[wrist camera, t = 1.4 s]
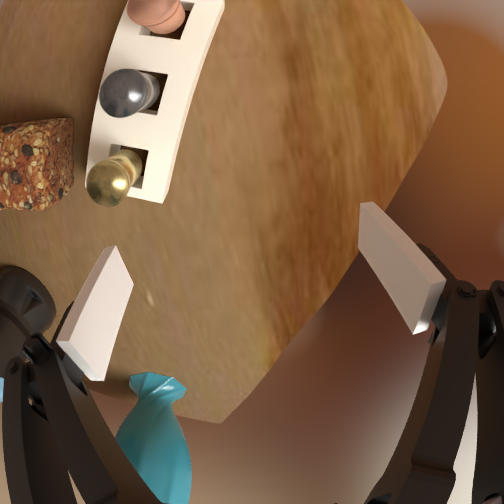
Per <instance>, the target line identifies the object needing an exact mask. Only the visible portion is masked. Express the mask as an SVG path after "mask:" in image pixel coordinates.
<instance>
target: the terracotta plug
mask: <svg viewBox="0 0 504 504" xmlns="http://www.w3.org/2000/svg"><path fill="white" fill-rule="evenodd" d="M127 14H128V17H129V18H130V19H131V20H132V21H133V22H135V23H136V24H138V25H141V26H145V27H146V28H148V29H149V30H150V31H152V32H153V33H156V34H168V33H171V32H173V31H175V30H176V29H178V28H179V27H180V26H181V25H182V23H183V22H184V19H185V11H184V9H183V7H182V5H181V3H180V0H129V1H128V3H127Z"/></svg>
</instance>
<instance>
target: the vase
mask: <svg viewBox="0 0 504 504" xmlns="http://www.w3.org/2000/svg"><path fill="white" fill-rule="evenodd" d="M129 387H130V388H131V389H132V390H133V391H134V392H135V393H136V394H137V396H138V401H137V403H136V405H135V407H134V408H133V409H132V410H131V411H130V413H129V414H128V415H127V417H126V418H125V419H124V421H123V422H122V424H121V426H120V427H119V429H118V431H117V434H116V436H115V439H116V441H117V442H118V444H119V446H120V447H121V449H122V450H123V452H124V453H125V455H126V456H127V458H128V459H129V461H130V462H131V464H132V465H133V467H134V468H135V470H136V471H137V472H138V474H139V475H140V476H141V478H142V479H143V480H144V482H145V483H146V484H147V486H148V487H149V488H150V489H151V491H152V492H153V493H154V494H155V496H156V497H157V498H158V499H159V500H160V501H161V502H162V503H163V504H188V502H189V497H190V492H191V483H192V468H191V459H190V454H189V450H188V446H187V442H186V439H185V436H184V434H183V431H182V429H181V426H180V424H179V422H178V420H177V418H176V416H175V414H174V412H173V408H172V403H173V402H174V401H176V400H178V399H181V398H182V397H183V395H184V393H185V391H186V390H187V389H186V388H185V387H184V386H183V385H181V384H180V383H179V382H178V381H176V380H175V379H174V378H172V377H167V376H163V375H159V374H154V373H151V372H146V373H142V374H137V375H131V376H130V381H129Z"/></svg>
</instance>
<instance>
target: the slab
mask: <svg viewBox="0 0 504 504" xmlns="http://www.w3.org/2000/svg"><path fill="white" fill-rule="evenodd" d="M128 1H129V0H128ZM127 3H128V2H127ZM180 3H181V5H182V7H183V9H184V10H186V11H191V13H190V15H189V18H188V20H187V23H186V26H185V28H184V31H183V33H182V36H181V39H180V40H176V39H170V38H162V37H154V36H150V33H151V31H150V30H149V29H148V28H146V27H145V26H141V25H138V24H136V23H135V22H133V21H132V20H131V19H130V18H129V17H128V14H127V4H126V6H125V9H124V11H123V14H122V17H121V19H120V22H119V25H118V27H117V30H116V33H115V36H114V39H113V42H112V45H111V48H110V51H109V55H108V58H107V62H106V65H105V69H104V73H103V77H102V81H101V85H102V83H103V82H104V80H105V79H106V78H107V77H108V76H109V75H110V74H111V73H113V72H115V71H117V70H119V69H134V70H137V71H138V70H141V71H148V72H155V73H162V74H168V78H167V81H166V84H165V88H164V91H163V95H162V98H161V102H160V106H159V109H158V111H155V110H149V109H143V110H140V111H138V112H137V113H135V114H133V115H131V116H128V117H124V118H115V117H112V116H110V115H108V114H107V113H106V112H105V111H104V110H103V109H102V107H101V105H100V101H99V93H98V98H97V103H96V108H95V113H94V118H93V124H92V130H91V137H90V144H89V152H88V161H87V171H86V179H87V175H88V173H89V171H90V170H91V168H92V167H93V166H95V165H96V164H97V163H99V162H101V161H103V160H106V159H108V158H109V157H110V156H112V155H113V154H115V153H116V152H118V151H120V148H121V145H123V146H128V147H134V148H139V149H144V150H149V152H148V157H147V162H146V168H145V173H144V177H143V176H140V177H139V178H138V179H137V180H136V181H135V183H134V184H133V185H132V186H131V188H130V189H129V192H128V194H127V195H126V196H130V197H135V198H139V199H144V200H149V201H153V202H158V203H163V201H164V199H165V197H166V195H167V193H168V190H169V186H170V181H171V177H172V172H173V168H174V164H175V159H176V155H177V151H178V147H179V143H180V139H181V136H182V132H183V128H184V124H185V121H186V117H187V114H188V110H189V107H190V103H191V100H192V97H193V94H194V90H195V87H196V84H197V81H198V78H199V75H200V72H201V69H202V66H203V63H204V60H205V57H206V55H207V52H208V49H209V46H210V44H211V41H212V38H213V36H214V33H215V31H216V28H217V25H218V23H219V21H220V18H221V16H222V13H223V11H224V0H180ZM101 85H100V88H101ZM99 92H100V89H99ZM85 187H86V183H85ZM86 188H87V187H86Z"/></svg>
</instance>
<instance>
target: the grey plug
mask: <svg viewBox="0 0 504 504" xmlns="http://www.w3.org/2000/svg"><path fill="white" fill-rule="evenodd" d="M159 93H160V86H159V82H158V81H157V79H156V78H155V77H154V76H152V75H150V74H146V73H141V72H139V71H137V70H134V69H119V70H117V71H115V72H113V73H111V74H110V75H109V76H108V77H107V78H106V79H105V80H104V82H103V83H102V85H101V88H100V92H99V101H100V105H101V107H102V109H103V110H104V111H105V112H106V113H107V114H108V115H110V116H112V117H115V118H124V117H128V116H131V115H133V114H135V113H137V112H138V111H140V110H143V109H146V108H149V107H150V106H152V105H153V104H154V103H155V102H156V100H157V99H158V97H159Z"/></svg>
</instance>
